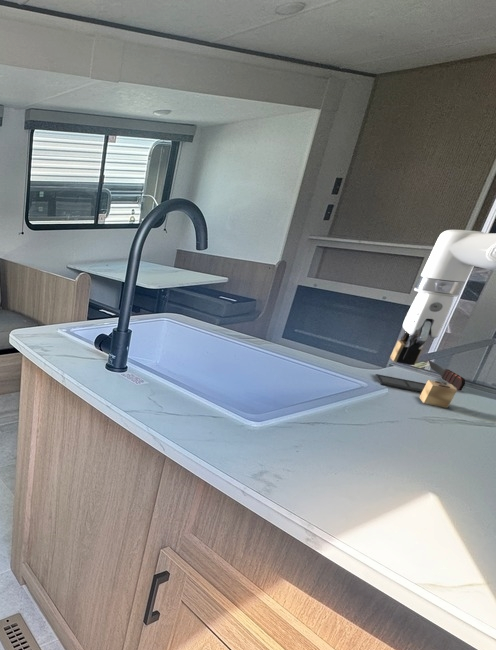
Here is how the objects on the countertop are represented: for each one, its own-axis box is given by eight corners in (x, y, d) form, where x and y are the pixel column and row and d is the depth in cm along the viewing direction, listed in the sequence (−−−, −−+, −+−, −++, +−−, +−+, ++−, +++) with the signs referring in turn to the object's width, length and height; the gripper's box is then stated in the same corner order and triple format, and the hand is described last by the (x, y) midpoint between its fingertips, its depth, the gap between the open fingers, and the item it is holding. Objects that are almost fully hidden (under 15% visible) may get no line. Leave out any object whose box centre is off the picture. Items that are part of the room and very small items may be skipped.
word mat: (431, 386, 107) (432, 384, 107) (440, 396, 101) (441, 395, 101) (375, 375, 113) (376, 373, 112) (380, 384, 106) (381, 383, 106)
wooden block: (410, 360, 106) (419, 342, 105) (414, 365, 103) (423, 347, 101) (390, 357, 108) (398, 339, 106) (393, 361, 105) (401, 343, 103)
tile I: (442, 402, 98) (452, 383, 96) (447, 408, 95) (457, 389, 93) (419, 397, 100) (428, 378, 98) (423, 403, 97) (433, 384, 95)
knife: (421, 368, 120) (426, 358, 119) (426, 368, 119) (431, 358, 118) (457, 390, 105) (463, 379, 104) (462, 391, 105) (468, 380, 104)
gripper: (473, 295, 90) (431, 374, 98) (449, 284, 103) (414, 355, 110) (426, 289, 94) (389, 366, 101) (408, 279, 107) (377, 348, 114)
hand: (402, 360), depth 106 cm, fingers closed on wooden block, 4 cm apart
